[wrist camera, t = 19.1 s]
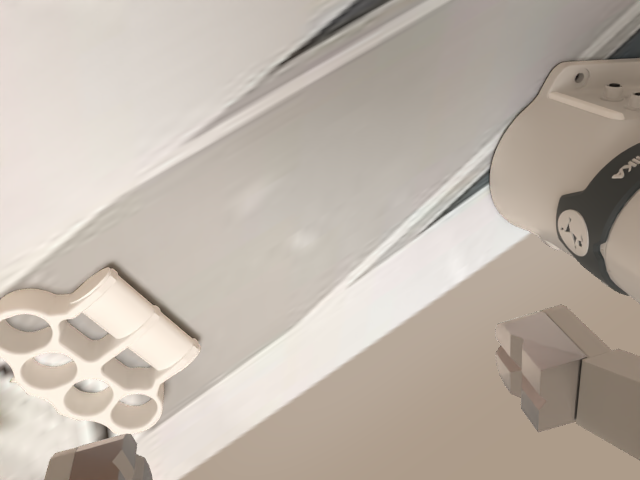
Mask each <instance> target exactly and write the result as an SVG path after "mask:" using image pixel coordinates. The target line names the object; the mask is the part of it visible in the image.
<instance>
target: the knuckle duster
mask: <svg viewBox="0 0 640 480" xmlns="http://www.w3.org/2000/svg"><path fill="white" fill-rule="evenodd" d="M81 313H83V314H85V315H86V316H87V317H89V318H90V319H91V320H93V321H94V322H95V323H96V324H98V325H99V326H100V327H102V328H103V329H104V330H106V331H107V332H108V333H109V334H107V335H106V336H105V337H103V338H102V339H100V340H91V339H89V338H88V337H86V336H85V335H84V334H82V333H81V332H80V331H78V330H77V329H76V328H74V327H73V326H72V325H70V324H69V323H68V322H67V319H74V318H75V317H77V316H78V315H79V314H81ZM19 314H32V315H36V316H38V317H41V318H42V319H44V320H45V321H46V322H47V323H48V324H49V325H50V326H49V327H46V328H44V329H41V330H38V331H34V332H25V331H20V330H17V329H15V328H13V327H12V326H11V325H10V324H9V323H8V322H7V321H6V319H7V318H9V317H12V316H15V315H19ZM127 347H128V348H129V349H130V350H132V351H133V352H134V353H135V354H137V355H138V356H139V357H141V358H142V359H143V360H145V361H146V362H147V363H149V364H150V365H151V366H152V367H150V368H143V367H136V368H129V367H127V366H125V365H124V364H123V363H121V362H120V361H119V360H117V359H116V358H115V356H116V355H118V354H119V353H120V352H122V351H123V350H124V349H126V348H127ZM200 350H201V346H200V345H199V344H198V341H197V340H196V339H195V338H191V337H190V336H189V335H188V334H186V333H185V332H184V331H183V330H182V329H181V328H179V327H178V326H177V325H176V324H175V323H173V322H172V321H171V320H170V319H169V318H168V317H166V316H165V315H164V314H163V313H162V312H161V311H160V308H159V307H158V306H156V305H152V304H151V303H150V302H149V301H148V300H147V299H145V298H144V297H143V296H142V295H141V294H140V293H138V292H137V291H136V290H135V289H134V288H132V287H131V286H130V285H129V284H128V283H127V282H125V281H124V280H123V279H122V278H121V277H120V276H118V272H117V271H115V270H114V269H113V268H111V269H110V268H109V267H107V268H104V269H102V270H100V271H99V272H97V273H96V274H94V275H93V276H92V277H90V278H89V279H88V280H86V281H85V282H84V283H83V284H82V285H81V286H80V287H79V288H78V289H77V290H76V291H75V292H73V293H71V294H61V295H56V294H53V293H51V292H48V291H45V290H41V289H20V290H16V291H13V292H11V293H9V294H7V295H5V296H4V297H3V298H2V299H1V300H0V357H1V358H2V359H3V360H5V361H6V362H7V363H8V364H9V365H10V367H11V368H12V370H13V373H14V377H13V378H12V380H11V381H10V383H18V385H19V386H20V387H21V388H22V389H23V390H24V391H25V392H26V393H27V394H28V395H32V396H36V397H39V398H42V399H44V400H46V401H47V402H49V403H50V404H51V405H52V406H53V407H54V408H55V409H56V411H57V413H58V414H61V415H64V416H66V417H69V418H72V419H75V420H78V421H79V420H88V421H94V422H98V423H101V424H103V425H105V426H107V427H108V428H109V429H110V430H111V431H112V432H113V433H115V434H135V433H139V432H142V431H145V430H147V429H149V428H150V427H152V426H153V425H154V424H155V423H156V422H157V421H158V420H159V418H160V417H161V414H162V411H163V398H164V382H165V381H166V380H167V379H169V378H170V377H172V376H173V375H174V374H176V373H178V372H180V371H181V370H183V369H184V368H185V367H187V366H188V365H189V364H190V363H191V362H192V361H193V360H194V359H195V358H196V357H197V355H198V354H199V352H200ZM44 353H60V354H64V355H66V356H68V357H70V358H71V359H72V360H73V361H72V362H69V363H67V364H64V365H61V366H46V365H43V364H40V363H38V362H37V361H36V360H35V359H34V358H33V357H36V356H38V355H41V354H44ZM86 379H95V380H100V381H103V382H105V383H107V384H108V385H109V387H108V388H106V389H105V390H103V391H100V392H96V393H87V392H83V391H80V390H78V389H77V388H76V387H75V386H74V384H75V383H77V382H79V381H82V380H86ZM132 394H143V395H147V396H149V397H151V398H152V399H151V400H150V401H148V402H147V403H145V404H143V405H139V406H129V405H125V404H123V403H121V402H120V401H119V400H120V399H122V398H123V397H125V396H128V395H132Z"/></svg>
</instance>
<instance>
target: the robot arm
mask: <svg viewBox="0 0 640 480" xmlns="http://www.w3.org/2000/svg"><path fill="white" fill-rule="evenodd" d="M578 73H579V77H578V79H577V80H575V77H576V75H577V74H578ZM490 191H491V196H492V199H493V202H494V204H495V207H496V208H497V210H498V211H499V213H500V214H501V215H502V217H503V218H505V219H506V220H507V221H508V222H509V223H511V224H513V225H515V226H517V227H519V228H522V229H524V230H527V231H529V232H531V233H533V234H535V235H537V236H538V237H539V238H540V239H541V240H542V241H543V242H544V243H545V244H546V245H548V246H550V247H551V248H553V249H555V250H563V251H564V252H566V253H568V254H570V255H571V256H573V257H574V258H576V259H577V261H578V262H580V264H581V265H582V266H583V267H584V268H586V269H587V270H588V271H589V272H591V273H592V274H593V275H594V276H596V277H597V278H598V279H600V280H601V282H602V283H604V284H605V285H607V286H608V287H610V288H612V289H613V290H615V291H617V292H619V293H621V294H624V295H627V296H631V297H632V298H633V299H634V300H636V301H637V302H638V303H640V58H630V59H610V60H591V61H571V62H563V63H560V64H558V65H557V66H556V67H555V68H554V69H553V70H552V72H551V73H550V74H549V76H548V78H547V79H546V81H545V83H544V85H543V87H542V89H541V91H540V92H539V94H538V96H537V97H536V98H535V100H534V101H533V102H532V103H531V104H530V105H529V106H528V107H527V108H526V109H525V110H524V111H523V112H521V113H520V114H519V116H518V117H517V118H516V119H515V120H514V121H513V122H512V124H511V125H510V126H509V128H508V129H507V131H506V132H505V134H504V135H503V137H502V139H501V140H500V142H499V145H498V147H497V149H496V151H495V154H494V157H493V161H492V165H491V170H490ZM495 330H496V331H495V332H496V333H495V338H496V339H497V340H498V342H499V343H500V344H501V346H500V347H499V348H498V350H497V351H496V364H497V367H498V371H499V374H500V377H501V379H502V381H503V382H504V385H505V386H506V388H507V389H508V390H509V391H510V393H511V394H513V395H515V396H517V397H520V398H521V409H522V410H523V412H524V413H525V415H526V416H527V417H528V419H529V420H530V421H531V423H532V424H533V426H534V427H535V429H536V430H537V431H538V432H541V431H544V430H548V429H551V428H555V427H559V426H562V425H566V424H569V423H572V422H576V424H578V425H579V426H581V427H583V428H584V429H586V430H588V431H590V432H592V433H593V434H595V435H597V436H598V437H600V438H602V439H604V440H605V441H607V442H609V443H611V444H612V445H614V446H616V447H617V448H619V449H621V450H623V451H624V452H626V453H628V454H629V455H631V456H633V457H635V458H636V459H638V460H640V356H638V355H635V354H632V353H629V352H627V351H624V350H621V349H616V350H611V349H610V348H609V347H608V346H607V345H606V344H605V343H604V342H603V341H602V340H601V339H600V338H599V337H598V336H597V335H595V334H594V333H593V332H592V331H591V330H590V329H589V328H588V327H587V326H586V325H585V324H584V323H583V322H582V321H581V320H580V319H579V318H578V317H576V315H575V314H574V313H572V312H571V311H570V310H569V309H568V308H567V307H566V306H564V305H561V304H560V305H557V306H554V307H551V308H547V309H544V310H541V311H539V312H535V313H531V314H528V315H525V316H522V317H518V318H515V319H512V320H509V321H505V322H502V323H498V324H497V326H496V329H495ZM136 450H137V443H136V442H135V440H134V438H133V437H132V435H131V434H123V435H119V436H115V437H112V438H108V439H104V440H100V441H97V442H93V443H89V444H86V445H82V446H79V447H76V448H73V449H69V450H65V451H61V452H58V453H55V454H54V455H53V457H52V458H51V459H50V461H49V465H48V468H47V472H46V475H45V479H44V480H153V479H152V474H151V471H150V468H149V465H148V463H147V461H146V459H145V458H144V457H142V456H139V455H137V454H136Z"/></svg>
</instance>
